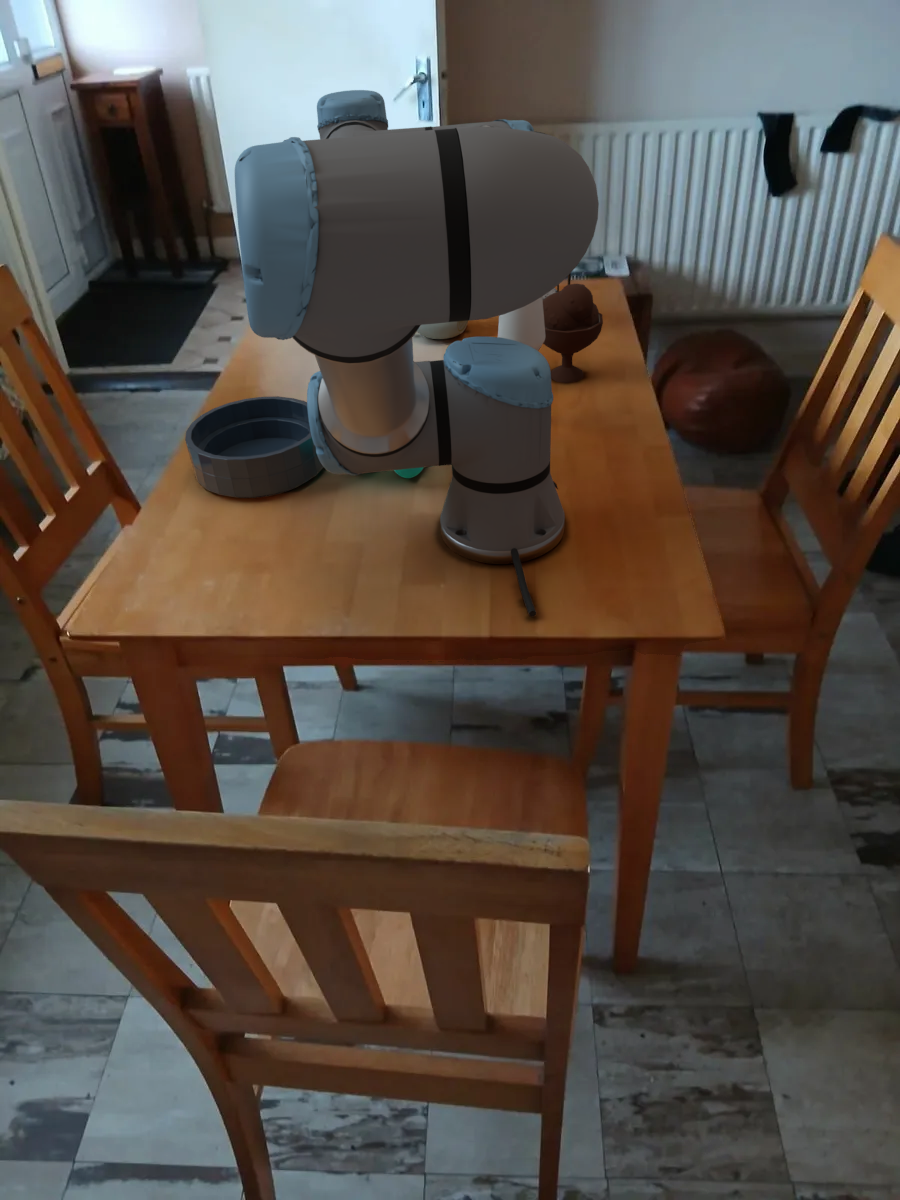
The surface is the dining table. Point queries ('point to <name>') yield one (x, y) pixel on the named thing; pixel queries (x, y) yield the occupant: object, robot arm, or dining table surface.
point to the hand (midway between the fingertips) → (383, 406)
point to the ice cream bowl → (570, 327)
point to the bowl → (253, 447)
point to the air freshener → (442, 329)
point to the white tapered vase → (524, 325)
